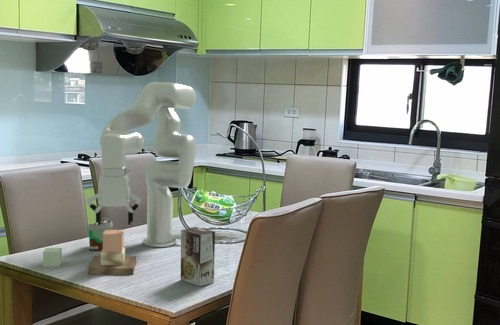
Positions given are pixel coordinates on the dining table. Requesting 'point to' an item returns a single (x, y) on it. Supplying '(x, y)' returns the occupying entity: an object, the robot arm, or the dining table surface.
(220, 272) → the dining table surface
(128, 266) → the tower board
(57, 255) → the sage cube
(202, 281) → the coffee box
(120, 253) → the beech block
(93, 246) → the food container
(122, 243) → the terracotta cube
